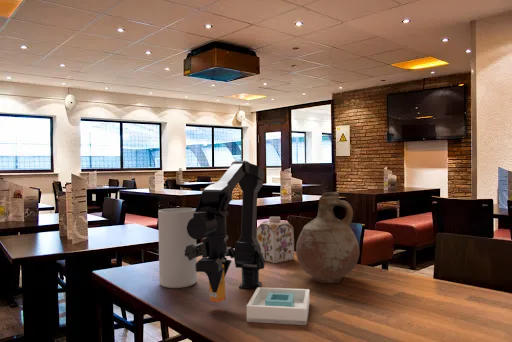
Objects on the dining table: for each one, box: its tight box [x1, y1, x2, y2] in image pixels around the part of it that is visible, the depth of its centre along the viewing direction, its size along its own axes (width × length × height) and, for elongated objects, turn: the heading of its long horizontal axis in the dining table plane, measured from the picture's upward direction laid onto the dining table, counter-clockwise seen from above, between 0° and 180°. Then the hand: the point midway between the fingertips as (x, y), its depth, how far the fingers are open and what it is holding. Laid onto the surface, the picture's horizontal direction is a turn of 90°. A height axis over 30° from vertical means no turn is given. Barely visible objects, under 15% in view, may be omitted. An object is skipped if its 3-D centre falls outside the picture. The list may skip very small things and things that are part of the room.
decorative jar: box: [256, 216, 295, 264], centre depth 169 cm, size 12×12×18 cm
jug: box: [295, 191, 361, 284], centre depth 137 cm, size 22×22×30 cm
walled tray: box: [246, 286, 311, 326], centre depth 107 cm, size 16×15×4 cm
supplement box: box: [208, 264, 226, 304], centre depth 110 cm, size 3×3×10 cm
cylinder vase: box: [157, 207, 198, 289], centre depth 136 cm, size 12×12×25 cm
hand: (217, 289), depth 110 cm, fingers closed on supplement box, 4 cm apart
